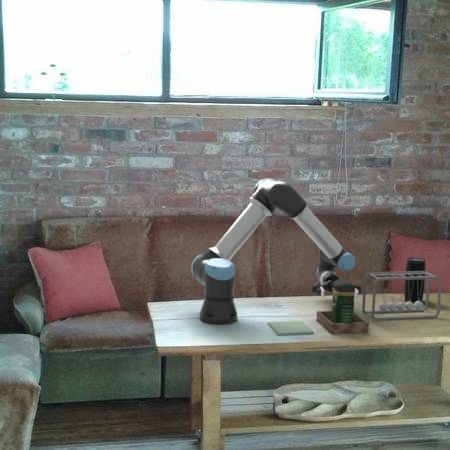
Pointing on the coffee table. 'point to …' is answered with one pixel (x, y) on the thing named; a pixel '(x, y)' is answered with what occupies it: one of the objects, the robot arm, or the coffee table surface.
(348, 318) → the coffee jar
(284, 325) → the sage mat
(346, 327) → the walnut caddy
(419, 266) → the portable speaker
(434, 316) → the newton's cradle
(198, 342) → the coffee table surface
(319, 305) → the coffee table surface
